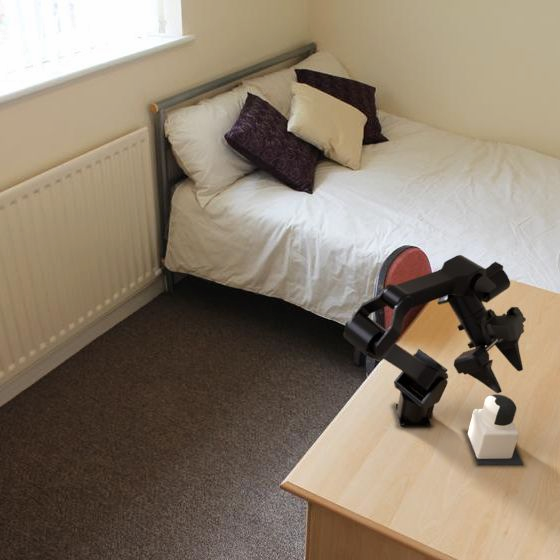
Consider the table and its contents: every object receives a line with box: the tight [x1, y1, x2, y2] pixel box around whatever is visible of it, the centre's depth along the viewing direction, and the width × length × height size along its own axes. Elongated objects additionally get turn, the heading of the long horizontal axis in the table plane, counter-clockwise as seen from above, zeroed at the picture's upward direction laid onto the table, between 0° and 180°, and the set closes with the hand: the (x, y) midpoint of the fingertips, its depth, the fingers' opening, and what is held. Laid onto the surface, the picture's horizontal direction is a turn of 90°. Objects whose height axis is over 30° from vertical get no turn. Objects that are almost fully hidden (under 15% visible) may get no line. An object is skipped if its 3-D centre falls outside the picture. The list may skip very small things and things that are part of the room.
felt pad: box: [466, 431, 524, 466], centre depth 144 cm, size 9×9×1 cm
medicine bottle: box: [467, 393, 520, 459], centre depth 141 cm, size 7×7×12 cm
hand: (510, 381), depth 141 cm, fingers open, 9 cm apart
